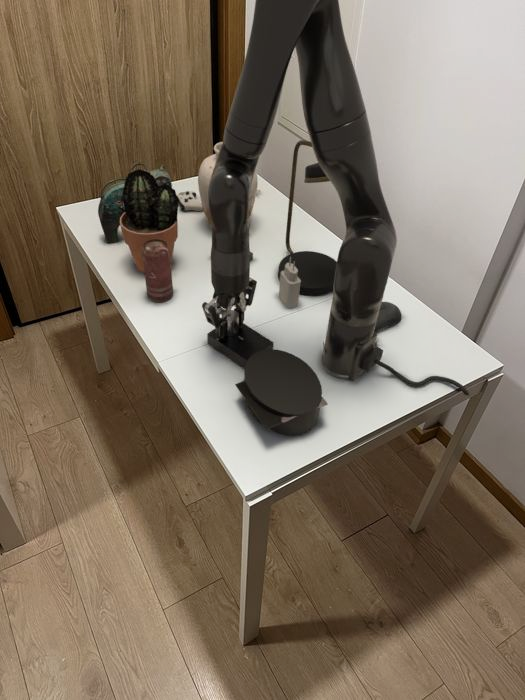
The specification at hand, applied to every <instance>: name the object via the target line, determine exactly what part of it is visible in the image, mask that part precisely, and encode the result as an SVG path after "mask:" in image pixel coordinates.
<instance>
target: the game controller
mask: <svg viewBox="0 0 525 700" xmlns="http://www.w3.org/2000/svg"><path fill="white" fill-rule="evenodd" d="M176 195H177V199H178V203H179V206H181V209H180V210H181V211H183V212H186V211H189V210H191V211H197V212H201V211H204V210H203V207H202V203H201V201H200V200H197V193H196V191H194V190H186V191H181V192H179V193H176Z"/></svg>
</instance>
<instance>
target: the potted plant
mask: <svg viewBox="0 0 525 700" xmlns="http://www.w3.org/2000/svg"><path fill="white" fill-rule="evenodd" d="M144 170H145V169H140V168H138V169H136V170H134V171H131V172H129V173H127V176H126V177H125V179H126V180H124V181H125V185H124V189H123V193H122V196H123V200H124V206H125V213H123V214H122V216H121V217H120V226H119V227H120V229H121V230H120V231H121V235H122V240H123V242H124V243H125V245H127V246H128V249H129V250H130V254H131V256H132V259H133V261H134V264H135V266H136V268H137V270H138V271H139V272H141V273H144V266H143V258H142V247H143V244H144V243H145V242H146V241H148V240H152V239H160V240H163V241H165V242H166V243H167V245H168V246H169V251H170V262H171V264H172V261H173V257H174V256H173V255H174V249H175V242H176V241H177V239H178V238H179V233H178V231H179V228H178V227H179V226H178V214H179V212H178V211H179V202H178V199H177V192H176V189H174V188H173V187H172V188H171V187H170V186H168V185H167V184H163V185H161V186H158V184H157V182H156V180H155V178H154V176H153V175H151V174H150V171H149V172H147V171H148V170H147V171H144Z"/></svg>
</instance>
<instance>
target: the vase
mask: <svg viewBox="0 0 525 700" xmlns="http://www.w3.org/2000/svg"><path fill="white" fill-rule="evenodd" d="M222 143H223V141H219V142H217V143H216V144H215V145H214V146H213V151H214V154H211V155H209V156H207V157H205V158H204V160H203V161H202V162H201V164H200V166H199V168H198V176H197V187H198V193H199V198H200V203H202V207H203V210H202V211H203V213H204V216H205V218H206V220H207V222H208V224H209V226H210V228H211V229H212V221H211V216H210V210H209V202H208V188H209V183H210V179H211V176H212V173H213V170H214V166H215V163H216V160H217V157H218V154H219V151H220V149H221V146H222ZM257 190H258V173H257V168H256V169H255V172H254V176H253V180H252V184H251V190H250V197H249V207H248V219H249V220H250V218H251V215H252V213H253V209H254V206H255V203H256V199H257V198H256V197H257V194H256V193H258V191H257Z"/></svg>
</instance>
